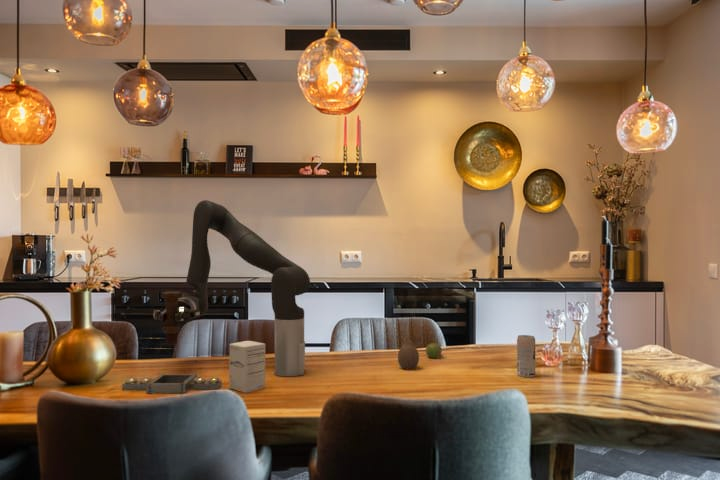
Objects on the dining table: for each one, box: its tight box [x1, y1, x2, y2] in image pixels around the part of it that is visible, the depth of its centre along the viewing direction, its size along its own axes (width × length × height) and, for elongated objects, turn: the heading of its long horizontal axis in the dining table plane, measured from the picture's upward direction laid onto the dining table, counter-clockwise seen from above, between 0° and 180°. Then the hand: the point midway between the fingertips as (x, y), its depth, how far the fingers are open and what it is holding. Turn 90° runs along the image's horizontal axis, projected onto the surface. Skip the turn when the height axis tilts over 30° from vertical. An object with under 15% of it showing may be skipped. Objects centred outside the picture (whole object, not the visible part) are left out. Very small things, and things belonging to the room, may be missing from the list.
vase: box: [397, 340, 420, 370], centre depth 173 cm, size 7×7×9 cm
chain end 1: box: [121, 373, 184, 395], centre depth 149 cm, size 18×11×3 cm, turn 92°
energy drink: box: [516, 334, 536, 379], centre depth 163 cm, size 5×5×12 cm
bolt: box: [160, 291, 183, 346], centre depth 151 cm, size 6×5×15 cm
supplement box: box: [228, 340, 266, 394], centre depth 149 cm, size 7×7×13 cm
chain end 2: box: [162, 373, 223, 394], centre depth 149 cm, size 18×11×3 cm, turn 92°
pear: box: [425, 342, 443, 359], centre depth 191 cm, size 6×5×10 cm
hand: (169, 318), depth 148 cm, fingers closed on bolt, 3 cm apart
